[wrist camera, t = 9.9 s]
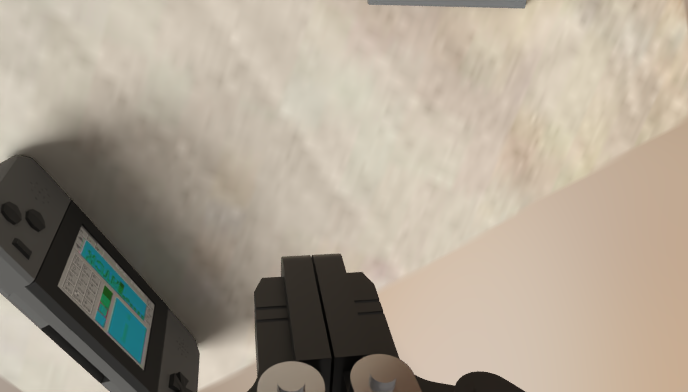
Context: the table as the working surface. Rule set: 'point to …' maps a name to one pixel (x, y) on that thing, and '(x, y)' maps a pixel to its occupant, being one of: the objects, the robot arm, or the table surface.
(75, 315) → the handheld gaming console
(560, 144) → the table surface
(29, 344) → the table surface
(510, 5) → the mat
